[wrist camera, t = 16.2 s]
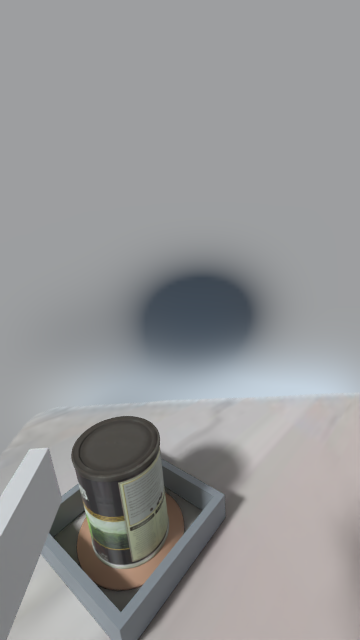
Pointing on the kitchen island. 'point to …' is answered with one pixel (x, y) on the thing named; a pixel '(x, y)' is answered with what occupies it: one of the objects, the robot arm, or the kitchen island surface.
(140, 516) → the coffee can
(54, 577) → the kitchen island surface
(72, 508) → the grey square tray
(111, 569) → the resting pad
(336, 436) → the kitchen island surface
